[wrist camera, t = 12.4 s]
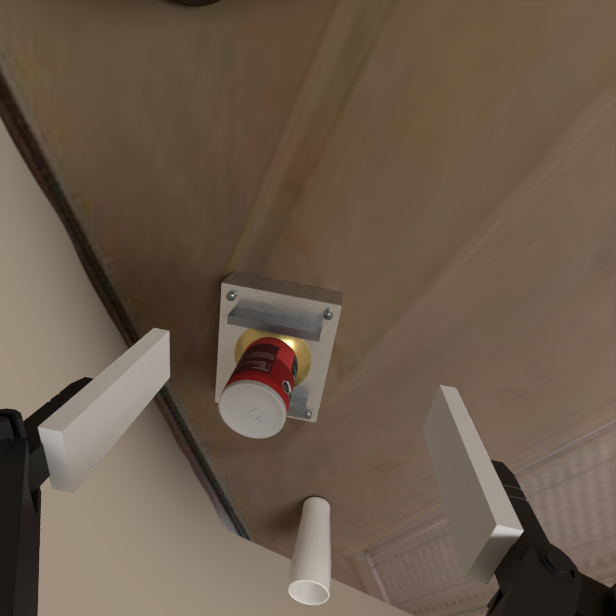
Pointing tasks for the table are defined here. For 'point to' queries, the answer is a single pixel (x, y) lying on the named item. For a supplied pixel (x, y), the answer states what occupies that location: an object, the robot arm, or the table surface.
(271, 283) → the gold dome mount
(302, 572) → the drinking glass
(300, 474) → the table surface
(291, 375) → the canned food
